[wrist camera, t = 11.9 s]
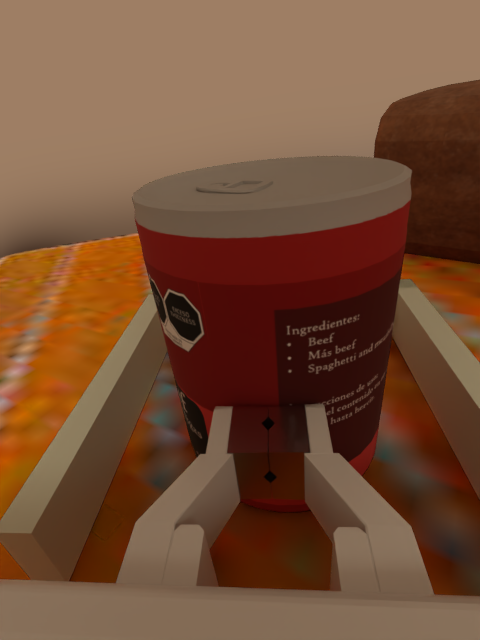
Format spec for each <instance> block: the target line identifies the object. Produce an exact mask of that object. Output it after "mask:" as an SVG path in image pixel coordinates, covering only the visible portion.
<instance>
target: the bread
mask: <svg viewBox="0 0 480 640" xmlns="http://www.w3.org/2000/svg"><path fill="white" fill-rule="evenodd" d="M374 158H380V159H386V160H391V161H394V162H398V163H401V164H403V165H405V166H407V167H408V168H409V169H411V170H412V174H411V181H410V185H411V201H410V208H409V216H408V223H407V236H406V244H405V250H404V253H408V254H415V255H422V256H429V257H436V258H443V259H450V260H457V261H463V262H470V263H477V264H480V80H476V81H470V82H463V83H458V84H451V85H447V86H442V87H438V88H434V89H430V90H426V91H423V92H420V93H417V94H414V95H411V96H408V97H405V98H402V99H400V100H398V101H396V102H393V103H392V104H391V105H390V106H389V108H388V109H387V111H386V112H385V113H384V115H383V116H382V118H381V120H380V125H379V128H378V132H377V136H376V140H375V151H374Z"/></svg>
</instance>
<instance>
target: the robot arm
mask: <svg viewBox="0 0 480 640" xmlns="http://www.w3.org/2000/svg"><path fill="white" fill-rule="evenodd" d="M272 496H273V499H295V500H305V502H306V504H307V505H308V507H309V508H310V510H311V511H312V513H313V514H314V516H315V517H316V519H317V520H318V522H319V523H320V525H321V526H322V528H323V530H324V531H325V533H326V534H327V536H328V537H329V539H330V540H331V542H332V543H333V548H332V563H331V578H330V591H324V590H297V589H269V588H241V587H218V581H217V577H216V573H215V570H214V566H213V562H212V558H211V555H210V551H209V550H210V548H211V547H212V545H213V544H214V542H215V540H216V539H217V537H218V536H219V534H220V533H221V531H222V529H223V528H224V526H225V525H226V523H227V522H228V520H229V518H230V517H231V515H232V514H233V512H234V511H235V509H236V507H237V506H238V504H239V503H240V499H272ZM0 640H480V596H461V595H435V594H434V592H433V589H432V586H431V583H430V580H429V577H428V574H427V571H426V568H425V565H424V562H423V559H422V556H421V553H420V550H419V548H418V545H417V542H416V539H415V536H414V533H413V530H412V527H411V526H410V525H409V524H408V523H407V522H406V521H405V520H404V519H403V518H402V517H401V516H400V515H399V514H398V513H397V512H396V511H395V510H394V509H393V508H392V507H391V506H390V504H389V503H388V502H387V501H386V500H385V499H384V498H383V497H382V496H381V495H380V494H379V493H378V492H377V491H376V490H375V489H374V488H373V487H372V486H371V485H370V484H369V483H368V482H367V481H366V480H365V479H364V478H363V477H362V476H361V475H360V474H359V473H358V472H357V471H356V470H355V469H354V468H353V467H352V466H351V465H350V464H349V463H348V462H347V461H346V460H345V459H344V458H343V457H342V456H341V455H340V454H339V453H333V449H332V444H331V439H330V433H329V428H328V423H327V417H326V412H325V407H324V405H323V404H310V405H305V406H304V405H281V406H269V407H268V406H233V407H232V406H216V407H215V409H214V412H213V417H212V422H211V428H210V433H209V438H208V444H207V449H206V454H200V455H199V456H198V457H197V458H196V459H195V460H194V461H193V462H192V463H191V464H190V465H189V466H188V468H187V469H186V470H185V471H184V472H183V473H182V474H181V475H180V476H179V477H178V478H177V479H176V480H175V481H174V482H173V483H172V484H171V485H170V486H169V487H168V489H167V490H166V491H165V492H164V493H163V494H162V495H161V496H160V497H159V498H158V499H157V500H156V501H155V502H154V503H153V504H152V505H151V506H150V507H149V508H148V509H147V511H146V512H145V513H144V514H143V515H142V516H141V517H140V518H139V519H138V520H137V521H136V523H135V526H134V529H133V532H132V535H131V538H130V541H129V544H128V547H127V550H126V553H125V556H124V559H123V562H122V565H121V568H120V571H119V574H118V577H117V580H116V583H99V582H71V581H43V580H15V579H0Z"/></svg>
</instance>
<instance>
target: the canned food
mask: <svg viewBox="0 0 480 640" xmlns="http://www.w3.org/2000/svg"><path fill="white" fill-rule="evenodd" d="M411 174H412V170H411V169H409V168H408V167H407V166H405V165H403V164H401V163H398V162H394V161H391V160H386V159H380V158H370V157H355V156H317V157H294V158H280V159H268V160H258V161H249V162H241V163H233V164H227V165H220V166H213V167H208V168H202V169H197V170H192V171H187V172H183V173H178V174H175V175H171V176H167V177H164V178H161V179H158V180H155V181H153V182H150V183H148V184H146V185H144V186H143V187H141V188H140V189H139V190H137V191H136V192H135V193H134V194H133V197H132V200H133V204H134V208H135V222H136V226H137V229H138V234H139V238H140V242H141V246H142V252H143V257H144V261H145V265H146V269H147V272H148V276H149V280H150V284H151V288H152V292H153V296H154V300H155V304H156V308H157V311H158V315H159V319H160V323H161V327H162V331H163V335H164V339H165V343H166V347H167V351H168V354H169V358H170V362H171V366H172V370H173V374H174V378H175V382H176V386H177V390H178V393H179V397H180V401H181V405H182V409H183V413H184V417H185V421H186V425H187V429H188V432H189V436H190V440H191V444H192V447H193V450H194V452H195V455H196V458H197V457H198V456H199V455H200V454H206V449H207V444H208V438H209V433H210V428H211V422H212V417H213V412H214V409H215V407H216V406H232V407H233V406H268V407H269V406H281V405H304V406H305V405H310V404H323V405H324V407H325V412H326V417H327V423H328V428H329V433H330V439H331V444H332V449H333V453H339V454H340V455H341V456H342V457H343V458H344V459H345V460H346V461H347V462H348V463H349V464H350V465H351V466H352V467H353V468H354V469H355V470H356V471H357V472H358V473H359V474H360V475H361V476H362V475H363V474H364V473H365V471H366V470H367V469H368V467H369V465H370V463H371V460H372V458H373V456H374V454H375V448H376V441H377V434H378V427H379V420H380V414H381V407H382V400H383V393H384V386H385V380H386V373H387V366H388V359H389V352H390V346H391V339H392V332H393V325H394V318H395V312H396V305H397V298H398V291H399V284H400V278H401V271H402V264H403V257H404V250H405V244H406V236H407V223H408V216H409V208H410V201H411V185H410V181H411ZM240 502H243V503H245V504H248V505H251V506H253V507H256V508H259V509H264V510H270V511H276V512H301V511H306V510H310V508H309V507H308V505H307V504H306V502H305V500H295V499H273V496H272V499H240Z"/></svg>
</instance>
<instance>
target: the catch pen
mask: <svg viewBox="0 0 480 640" xmlns="http://www.w3.org/2000/svg"><path fill="white" fill-rule="evenodd" d="M392 337H393V339H394V341H395V343H396V345H397V347H398V348H399V350H400V352H401V354H402V356H403V358H404V360H405V362H406V363H407V365H408V367H409V369H410V371H411V373H412V375H413V376H414V378H415V380H416V382H417V384H418V386H419V388H420V390H421V391H422V393H423V395H424V397H425V399H426V401H427V403H428V404H429V406H430V408H431V410H432V412H433V414H434V416H435V418H436V419H437V421H438V423H439V425H440V427H441V429H442V431H443V433H444V434H445V436H446V438H447V440H448V442H449V444H450V446H451V447H452V449H453V451H454V453H455V455H456V457H457V459H458V461H459V462H460V464H461V466H462V468H463V470H464V472H465V474H466V475H467V477H468V479H469V481H470V483H471V485H472V487H473V489H474V490H475V492H476V494H477V496H478V498H479V500H480V362H479V361H478V360H477V359H476V358H475V356H474V355H473V354H472V353H471V352H470V350H469V349H468V348H467V347H466V346H465V344H464V343H463V342H462V341H461V339H460V338H459V337H458V336H457V335H456V333H455V332H454V331H453V330H452V329H451V327H450V326H449V325H448V324H447V322H446V321H445V320H444V319H443V318H442V316H441V315H440V314H439V313H438V312H437V310H436V309H435V308H434V307H433V306H432V304H431V303H430V302H429V301H428V299H427V298H426V297H425V296H424V295H423V293H422V292H421V291H420V290H419V289H418V287H417V286H416V285H415V284H414V283H413V281H412V280H411V279H401V280H400V284H399V291H398V298H397V305H396V312H395V318H394V325H393V332H392ZM166 353H167V347H166V343H165V339H164V335H163V331H162V327H161V323H160V319H159V315H158V311H157V308H156V304H155V300H154V296H153V294H149V295H148V296H147V298H146V299H145V301H144V302H143V304H142V305H141V307H140V308H139V310H138V311H137V313H136V315H135V316H134V318H133V319H132V321H131V322H130V324H129V325H128V327H127V328H126V330H125V331H124V333H123V334H122V336H121V337H120V339H119V340H118V342H117V343H116V345H115V347H114V348H113V350H112V351H111V353H110V354H109V356H108V357H107V359H106V360H105V362H104V363H103V365H102V366H101V368H100V369H99V371H98V372H97V374H96V375H95V377H94V379H93V380H92V382H91V383H90V385H89V386H88V388H87V389H86V391H85V392H84V394H83V395H82V397H81V398H80V400H79V401H78V403H77V404H76V406H75V407H74V409H73V411H72V412H71V414H70V415H69V417H68V418H67V420H66V421H65V423H64V424H63V426H62V427H61V429H60V430H59V432H58V433H57V435H56V436H55V438H54V439H53V441H52V443H51V444H50V446H49V447H48V449H47V450H46V452H45V453H44V455H43V456H42V458H41V459H40V461H39V462H38V464H37V465H36V467H35V468H34V470H33V472H32V473H31V475H30V476H29V478H28V479H27V481H26V482H25V484H24V485H23V487H22V488H21V490H20V491H19V493H18V494H17V496H16V497H15V499H14V500H13V502H12V504H11V505H10V507H9V508H8V510H7V511H6V513H5V514H4V516H3V517H2V519H1V520H0V542H1V544H2V545H3V546H4V547H5V548H6V550H7V551H8V552H9V553H10V554H11V556H12V557H13V558H14V559H15V561H16V562H17V563H18V564H19V565H20V567H21V568H22V569H23V570H24V572H25V573H26V574H27V575H28V576H29V578H30V579H31V580H43V581H69V580H70V578H71V575H72V573H73V571H74V568H75V566H76V564H77V561H78V559H79V557H80V554H81V552H82V550H83V547H84V545H85V543H86V540H87V538H88V536H89V533H90V531H91V529H92V526H93V524H94V522H95V519H96V517H97V514H98V512H99V510H100V507H101V505H102V503H103V500H104V498H105V496H106V493H107V491H108V489H109V486H110V484H111V482H112V479H113V477H114V475H115V472H116V470H117V468H118V465H119V463H120V461H121V458H122V456H123V453H124V451H125V449H126V446H127V444H128V442H129V439H130V437H131V435H132V432H133V430H134V428H135V425H136V423H137V421H138V418H139V416H140V414H141V411H142V409H143V407H144V404H145V402H146V400H147V397H148V395H149V392H150V390H151V388H152V385H153V383H154V381H155V378H156V376H157V374H158V371H159V369H160V367H161V364H162V362H163V360H164V357H165V355H166Z"/></svg>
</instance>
